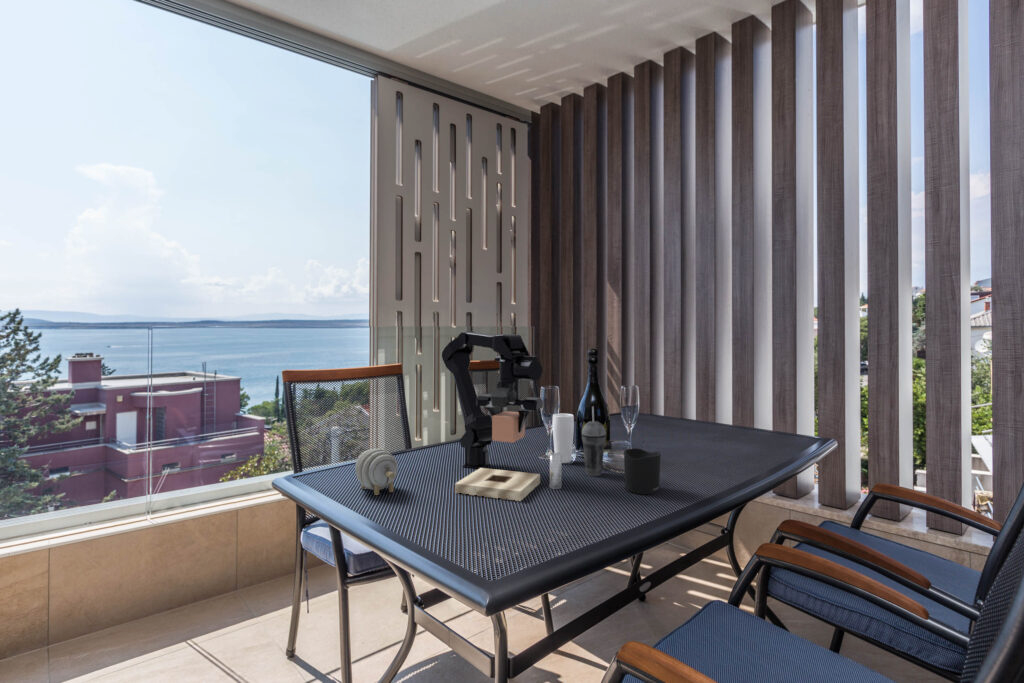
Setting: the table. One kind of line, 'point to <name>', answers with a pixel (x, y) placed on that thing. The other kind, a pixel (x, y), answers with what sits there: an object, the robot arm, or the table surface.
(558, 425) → the drinking glass
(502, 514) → the table surface
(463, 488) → the pin board
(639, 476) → the pen holder
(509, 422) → the block
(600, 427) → the beverage cup
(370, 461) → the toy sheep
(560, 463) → the steel pin
